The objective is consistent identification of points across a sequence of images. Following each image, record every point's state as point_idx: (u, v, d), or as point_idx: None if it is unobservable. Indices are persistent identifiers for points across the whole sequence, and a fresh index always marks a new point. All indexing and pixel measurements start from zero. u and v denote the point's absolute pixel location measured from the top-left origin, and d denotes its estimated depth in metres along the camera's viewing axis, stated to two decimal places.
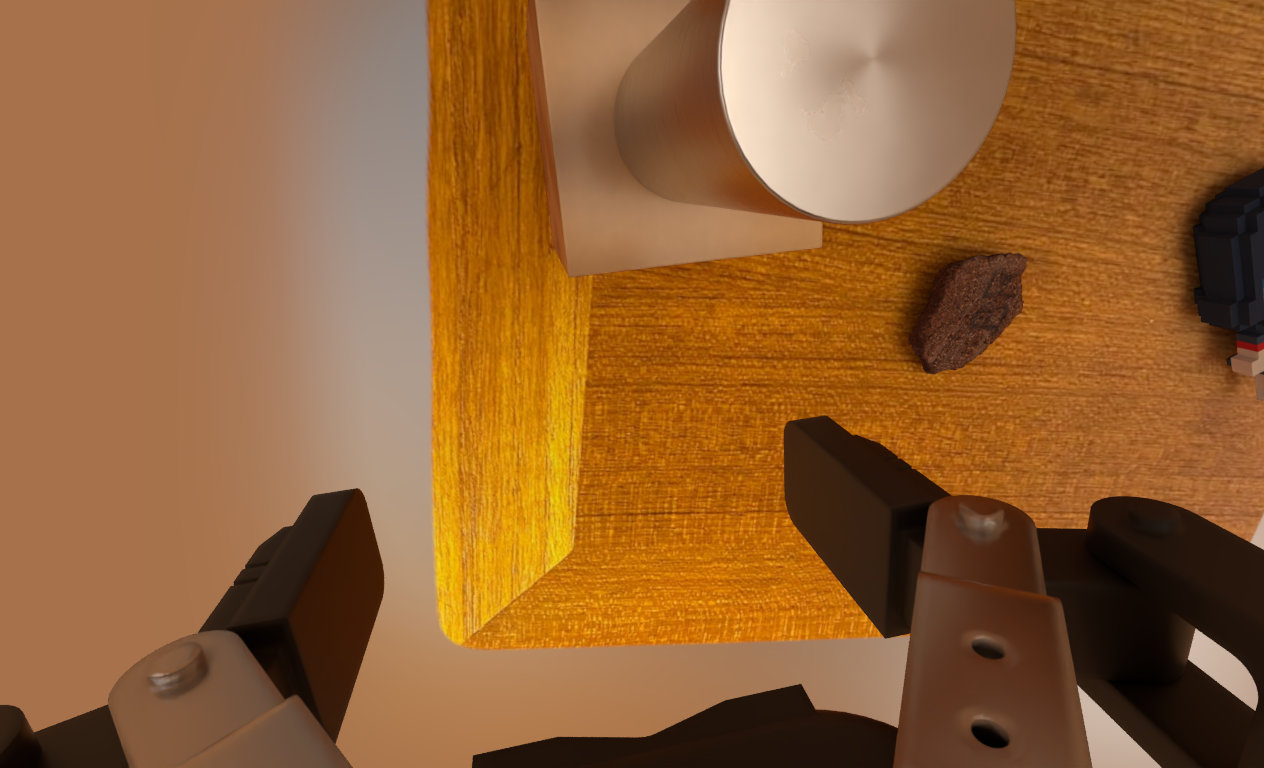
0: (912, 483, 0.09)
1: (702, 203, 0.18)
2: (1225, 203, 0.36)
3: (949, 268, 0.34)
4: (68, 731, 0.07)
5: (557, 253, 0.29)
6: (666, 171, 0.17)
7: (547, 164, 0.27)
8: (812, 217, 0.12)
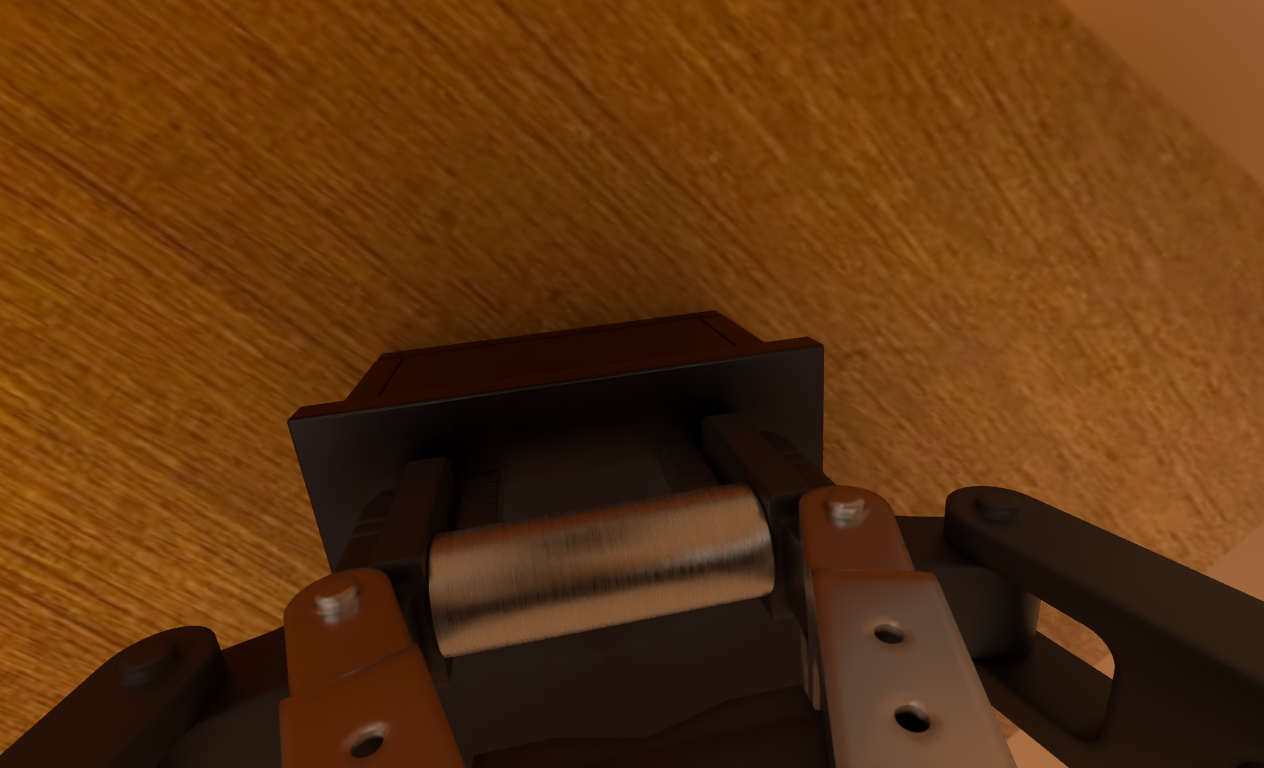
0: (797, 474, 0.10)
1: None
2: None
3: None
4: (243, 652, 0.08)
5: None
6: None
7: None
8: None
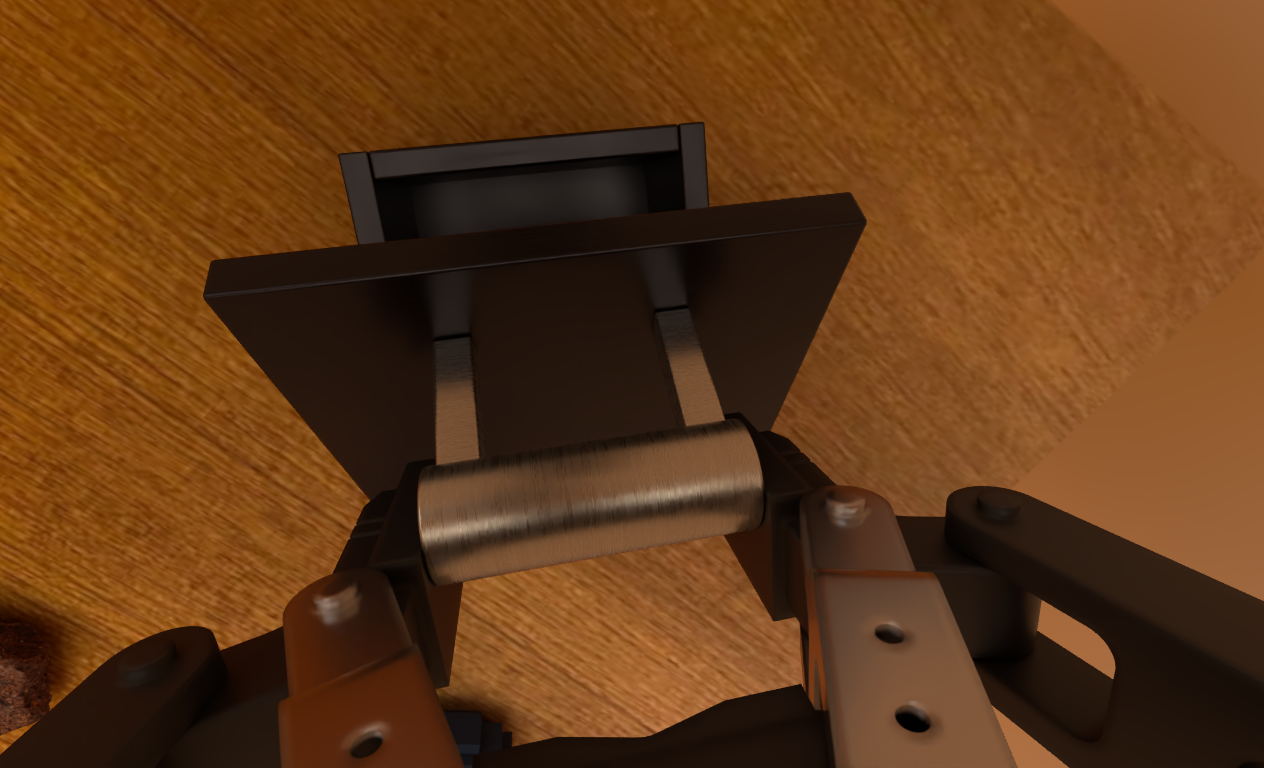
0: (797, 474, 0.10)
1: None
2: None
3: None
4: (242, 652, 0.08)
5: None
6: None
7: None
8: None
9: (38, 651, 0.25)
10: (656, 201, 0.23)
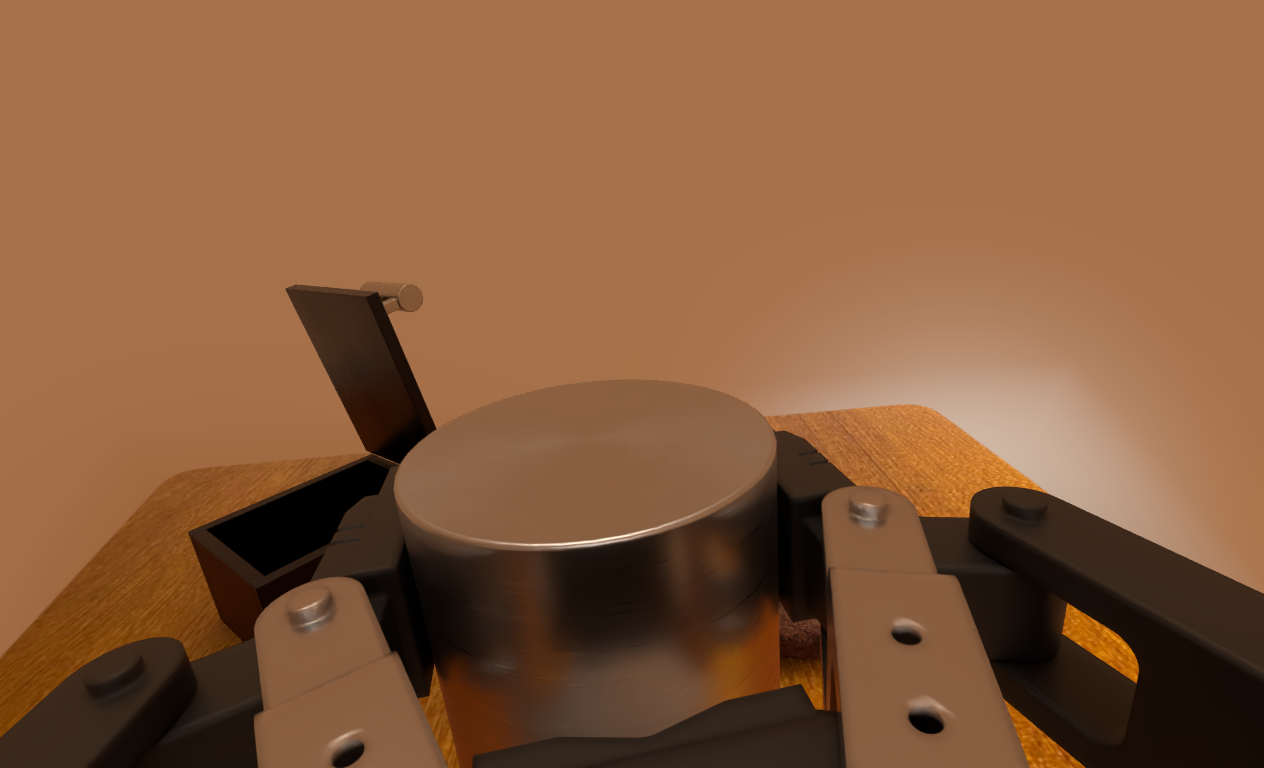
0: (817, 475, 0.10)
1: None
2: None
3: None
4: (213, 663, 0.07)
5: None
6: None
7: None
8: (775, 439, 0.09)
9: None
10: None
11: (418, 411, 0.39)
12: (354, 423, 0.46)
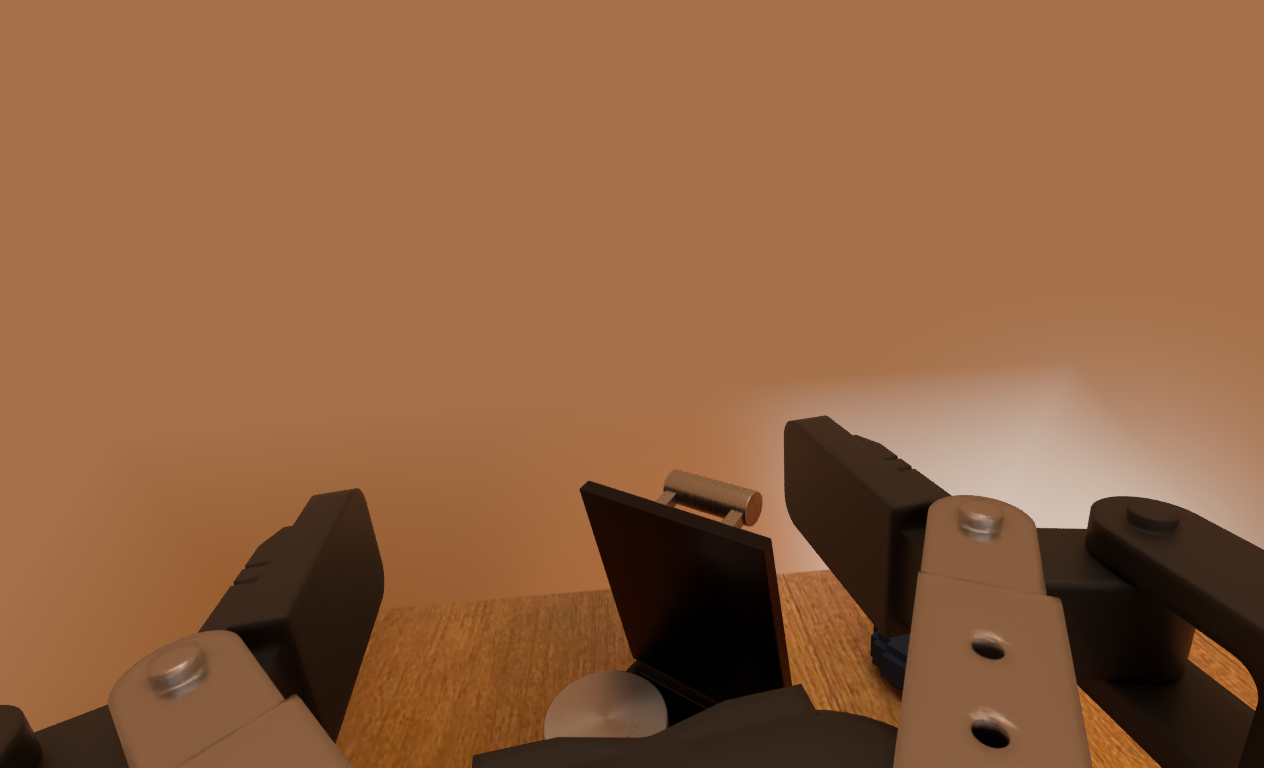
0: (912, 483, 0.09)
1: None
2: None
3: None
4: (68, 731, 0.07)
5: None
6: None
7: None
8: (667, 722, 0.27)
9: None
10: None
11: (782, 669, 0.30)
12: (627, 631, 0.37)
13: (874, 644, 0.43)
